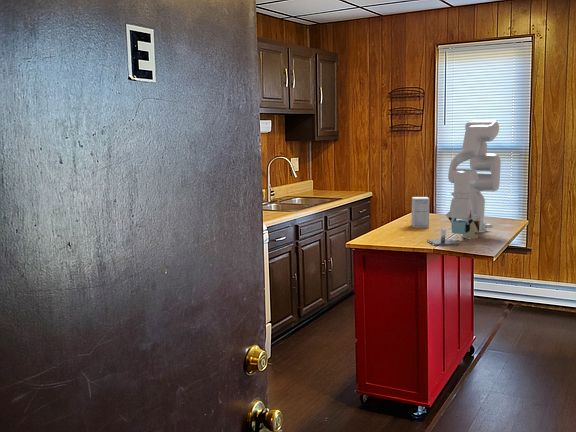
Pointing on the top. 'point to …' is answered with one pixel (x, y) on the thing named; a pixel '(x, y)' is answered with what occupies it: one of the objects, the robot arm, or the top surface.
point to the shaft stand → (443, 240)
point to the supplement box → (420, 212)
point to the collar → (459, 226)
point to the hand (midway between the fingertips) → (460, 230)
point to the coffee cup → (473, 228)
